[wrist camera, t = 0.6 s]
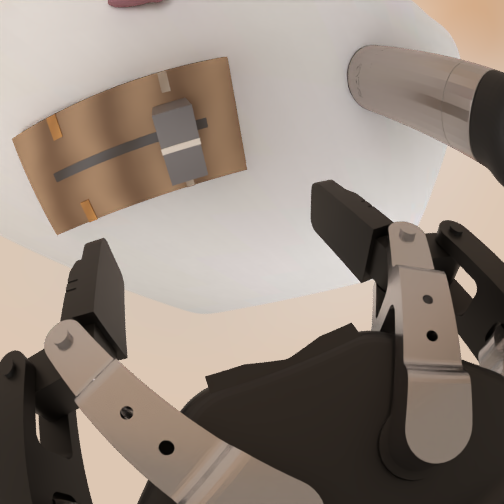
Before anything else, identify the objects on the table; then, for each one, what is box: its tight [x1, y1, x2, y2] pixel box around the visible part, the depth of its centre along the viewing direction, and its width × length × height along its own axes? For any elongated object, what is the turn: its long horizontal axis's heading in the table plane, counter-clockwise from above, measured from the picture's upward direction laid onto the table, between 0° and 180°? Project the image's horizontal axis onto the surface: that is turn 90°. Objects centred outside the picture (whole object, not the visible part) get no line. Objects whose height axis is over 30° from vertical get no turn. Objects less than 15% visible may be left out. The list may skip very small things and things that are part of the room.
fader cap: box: [152, 98, 208, 186], centre depth 22 cm, size 3×6×5 cm, turn 9°
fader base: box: [12, 57, 247, 235], centre depth 24 cm, size 22×12×3 cm, turn 99°
